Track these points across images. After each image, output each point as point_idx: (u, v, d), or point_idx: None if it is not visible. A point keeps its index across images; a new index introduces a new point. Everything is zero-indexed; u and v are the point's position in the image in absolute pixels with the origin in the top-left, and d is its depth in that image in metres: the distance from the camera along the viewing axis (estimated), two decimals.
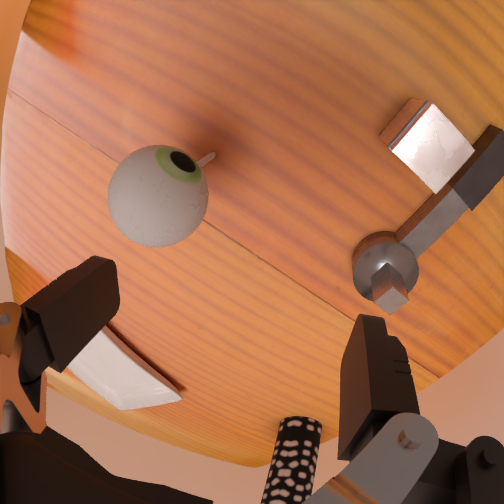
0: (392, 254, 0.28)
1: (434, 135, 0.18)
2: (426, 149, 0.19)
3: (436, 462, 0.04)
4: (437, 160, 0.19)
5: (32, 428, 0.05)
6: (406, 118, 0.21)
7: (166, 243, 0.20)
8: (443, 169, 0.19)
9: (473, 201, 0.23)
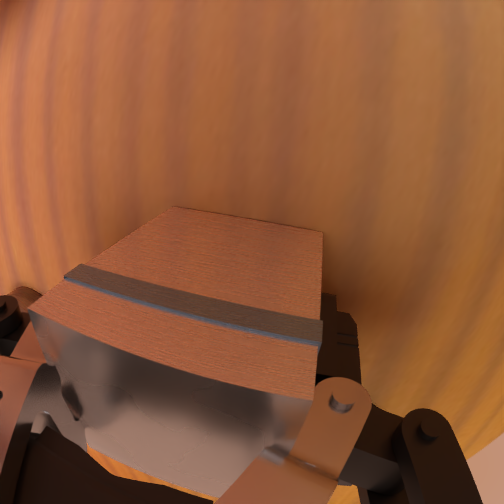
0: None
1: (189, 432, 0.05)
2: (128, 416, 0.05)
3: (373, 430, 0.05)
4: (140, 446, 0.05)
5: (67, 438, 0.05)
6: (221, 270, 0.07)
7: None
8: (140, 459, 0.06)
9: None
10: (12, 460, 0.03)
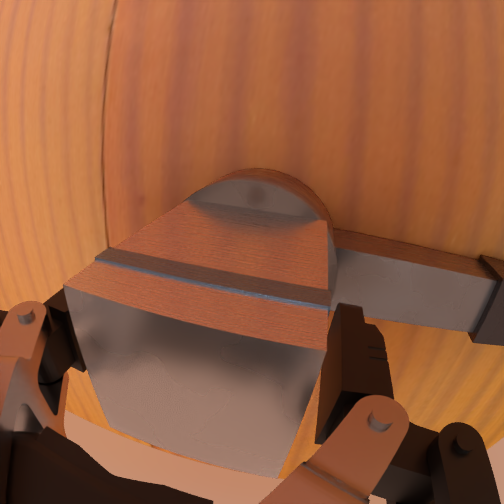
0: None
1: (213, 394, 0.05)
2: (155, 384, 0.06)
3: (408, 446, 0.05)
4: (163, 417, 0.06)
5: None
6: (239, 251, 0.07)
7: None
8: (162, 433, 0.07)
9: (489, 333, 0.11)
10: (0, 452, 0.03)
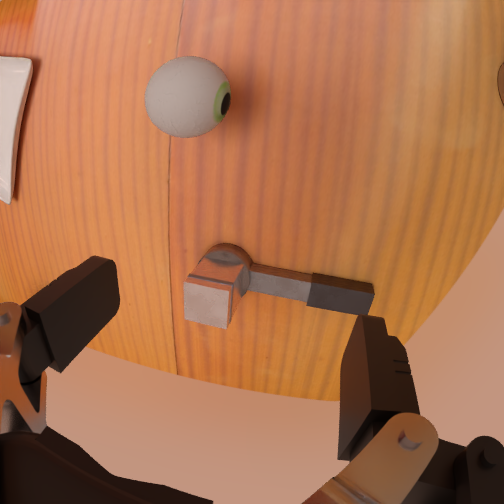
0: None
1: (212, 301, 0.33)
2: (201, 300, 0.33)
3: (436, 462, 0.04)
4: (201, 310, 0.33)
5: (32, 428, 0.05)
6: (217, 274, 0.35)
7: (160, 126, 0.22)
8: (199, 316, 0.34)
9: (313, 302, 0.38)
10: None
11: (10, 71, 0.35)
